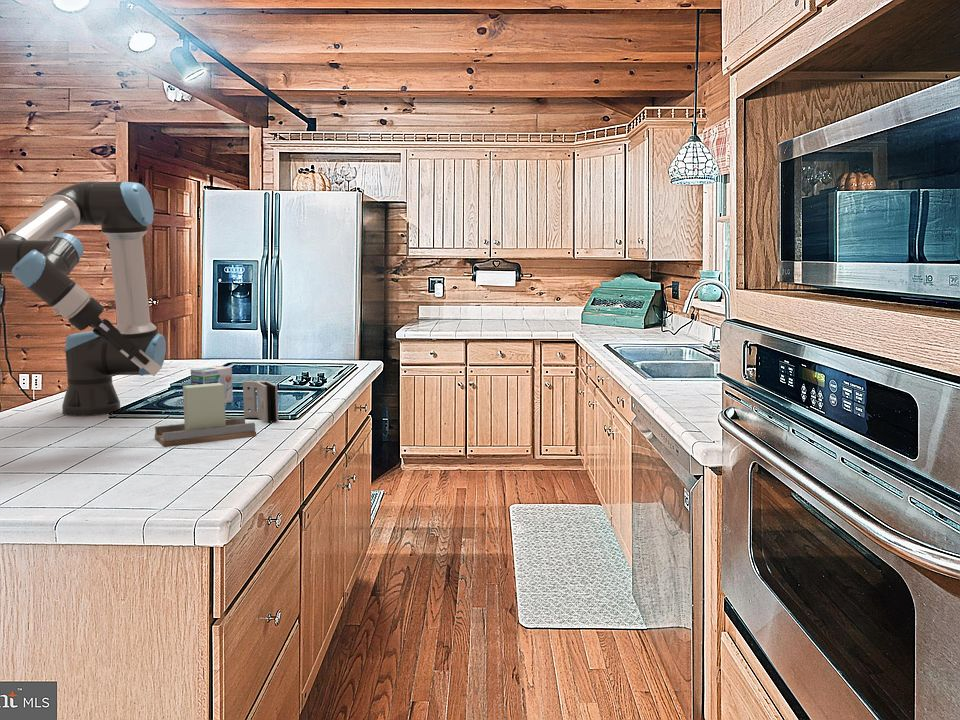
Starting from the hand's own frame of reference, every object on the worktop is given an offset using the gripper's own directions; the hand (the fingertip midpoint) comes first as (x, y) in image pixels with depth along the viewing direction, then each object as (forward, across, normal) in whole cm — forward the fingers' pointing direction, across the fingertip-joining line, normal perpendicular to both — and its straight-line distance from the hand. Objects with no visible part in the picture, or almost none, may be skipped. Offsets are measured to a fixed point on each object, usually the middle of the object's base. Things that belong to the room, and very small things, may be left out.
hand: (151, 368), depth 201 cm
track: (+21, +2, -4) cm, 22 cm away
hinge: (+35, -13, +9) cm, 38 cm away
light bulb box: (+32, -44, +6) cm, 55 cm away
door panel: (+20, +2, -4) cm, 21 cm away
